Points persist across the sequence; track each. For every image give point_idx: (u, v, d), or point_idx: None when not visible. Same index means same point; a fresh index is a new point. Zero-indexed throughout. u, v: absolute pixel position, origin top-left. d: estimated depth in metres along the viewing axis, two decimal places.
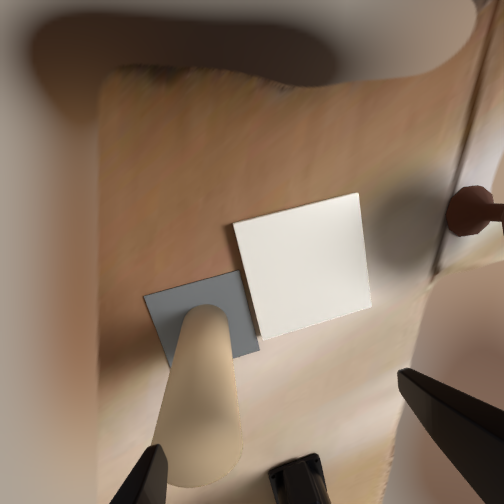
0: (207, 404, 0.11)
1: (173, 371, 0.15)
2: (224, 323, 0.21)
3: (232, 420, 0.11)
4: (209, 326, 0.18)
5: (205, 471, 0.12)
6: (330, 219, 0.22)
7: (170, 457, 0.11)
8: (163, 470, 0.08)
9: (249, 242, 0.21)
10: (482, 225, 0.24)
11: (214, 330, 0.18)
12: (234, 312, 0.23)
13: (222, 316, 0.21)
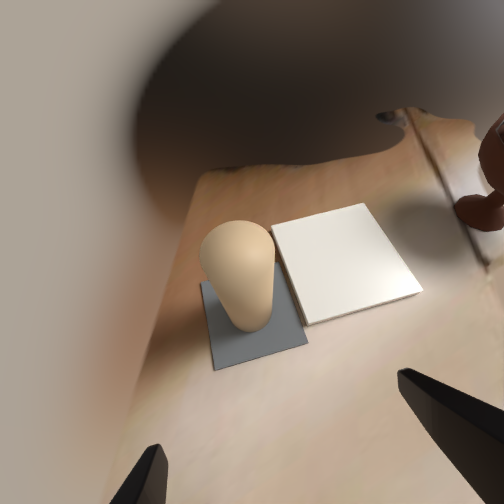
0: None
1: None
2: None
3: (265, 231, 0.14)
4: None
5: (242, 270, 0.13)
6: (347, 219, 0.28)
7: (215, 253, 0.14)
8: (163, 470, 0.08)
9: (284, 236, 0.27)
10: (499, 215, 0.27)
11: None
12: (277, 298, 0.24)
13: None
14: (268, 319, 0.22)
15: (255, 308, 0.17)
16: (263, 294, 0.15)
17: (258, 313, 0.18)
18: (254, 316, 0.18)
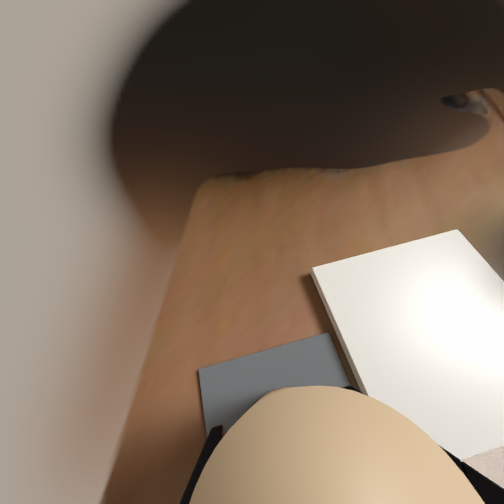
0: None
1: None
2: None
3: (434, 445, 0.04)
4: None
5: None
6: (436, 258, 0.17)
7: None
8: None
9: (336, 288, 0.17)
10: None
11: None
12: None
13: None
14: None
15: None
16: None
17: None
18: None
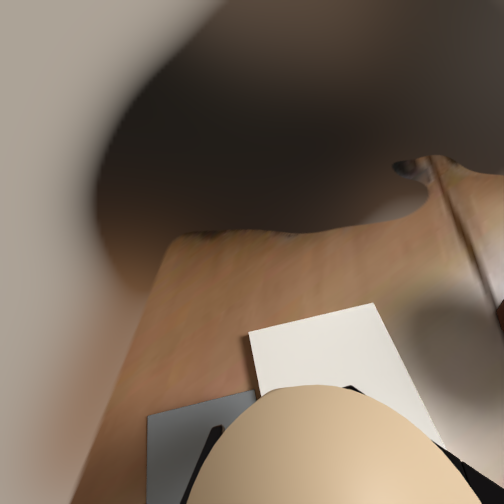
0: None
1: None
2: None
3: (430, 444, 0.04)
4: None
5: None
6: (349, 329, 0.21)
7: None
8: None
9: (264, 352, 0.20)
10: None
11: None
12: None
13: None
14: None
15: None
16: None
17: None
18: None
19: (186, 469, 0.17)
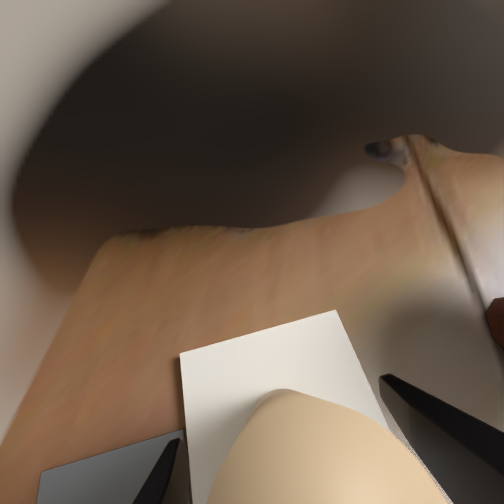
0: (332, 403, 0.05)
1: (247, 420, 0.08)
2: None
3: (407, 451, 0.04)
4: None
5: None
6: (305, 345, 0.17)
7: None
8: (185, 463, 0.08)
9: (196, 379, 0.16)
10: None
11: None
12: None
13: None
14: None
15: None
16: None
17: None
18: None
19: None
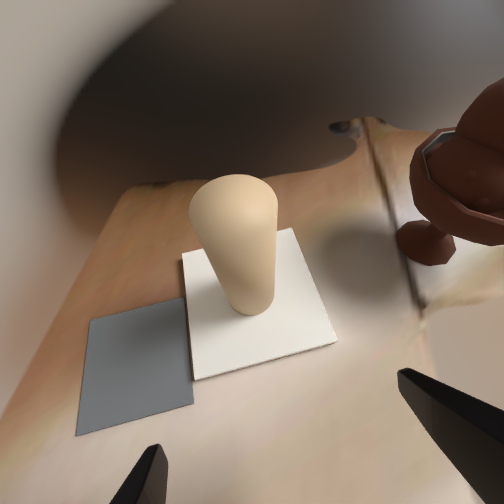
0: None
1: None
2: None
3: (267, 186, 0.12)
4: None
5: (238, 226, 0.11)
6: None
7: (207, 208, 0.12)
8: (163, 470, 0.08)
9: (193, 267, 0.24)
10: (442, 247, 0.23)
11: None
12: (170, 343, 0.21)
13: None
14: (270, 301, 0.20)
15: (255, 281, 0.15)
16: (264, 262, 0.13)
17: (258, 289, 0.16)
18: (254, 293, 0.16)
19: (119, 355, 0.20)
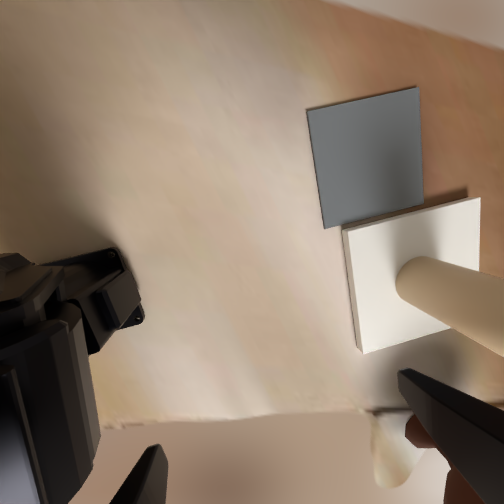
0: None
1: None
2: None
3: None
4: None
5: None
6: None
7: None
8: (163, 470, 0.08)
9: (459, 214, 0.20)
10: (424, 442, 0.25)
11: None
12: (378, 197, 0.19)
13: None
14: (411, 304, 0.20)
15: (483, 336, 0.14)
16: None
17: (459, 325, 0.15)
18: (453, 318, 0.16)
19: (374, 139, 0.18)
